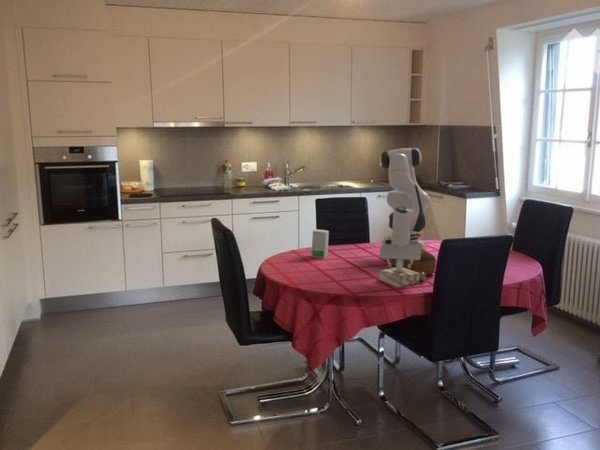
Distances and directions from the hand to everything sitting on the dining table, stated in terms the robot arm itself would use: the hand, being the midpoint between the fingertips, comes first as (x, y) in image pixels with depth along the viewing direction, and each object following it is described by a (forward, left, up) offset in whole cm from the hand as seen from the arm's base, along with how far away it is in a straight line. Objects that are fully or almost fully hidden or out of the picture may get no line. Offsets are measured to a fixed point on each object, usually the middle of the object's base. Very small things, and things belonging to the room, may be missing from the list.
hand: (399, 267), depth 288 cm
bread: (-21, -13, -8) cm, 26 cm away
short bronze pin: (-10, +6, -7) cm, 14 cm away
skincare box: (+5, -62, -8) cm, 63 cm away
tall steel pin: (0, 0, -7) cm, 7 cm away
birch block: (0, 0, -7) cm, 7 cm away
